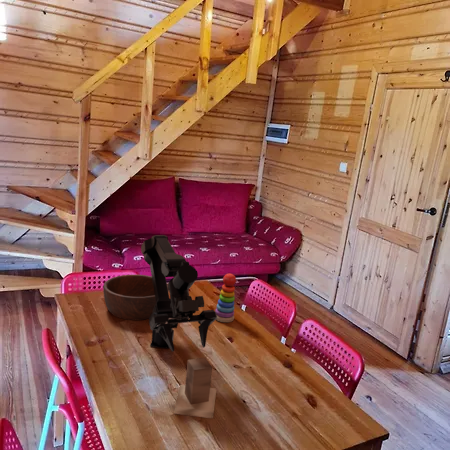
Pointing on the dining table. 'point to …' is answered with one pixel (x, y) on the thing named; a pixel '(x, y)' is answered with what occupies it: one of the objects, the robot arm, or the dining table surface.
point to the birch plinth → (195, 405)
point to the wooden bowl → (130, 296)
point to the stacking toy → (226, 300)
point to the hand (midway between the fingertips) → (188, 349)
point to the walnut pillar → (198, 380)
